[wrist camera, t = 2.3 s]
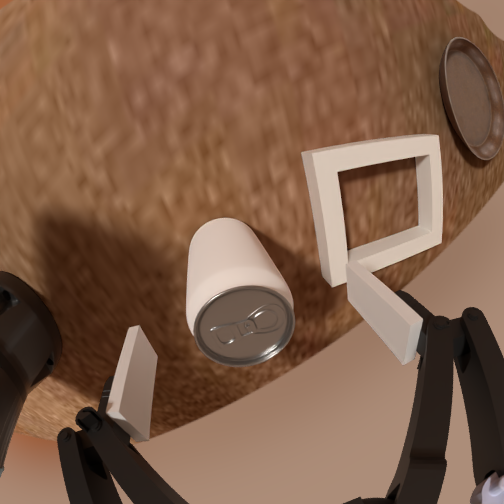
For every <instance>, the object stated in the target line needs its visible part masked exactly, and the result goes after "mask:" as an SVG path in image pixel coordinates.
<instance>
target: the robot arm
mask: <svg viewBox="0 0 504 504" xmlns="http://www.w3.org/2000/svg"><path fill="white" fill-rule="evenodd" d="M345 265H346V277H347V292H348V301H349V302H350V303H351V304H352V305H353V306H354V308H355V309H356V310H357V311H358V312H359V313H360V315H361V316H362V317H363V318H364V319H365V320H366V321H367V323H368V324H369V325H370V326H371V327H372V329H373V330H374V331H375V332H376V333H377V334H378V336H379V337H380V338H381V339H382V341H383V342H384V343H385V344H386V345H387V346H388V348H389V349H390V350H391V351H392V352H393V354H394V355H395V356H396V357H397V359H398V360H399V361H400V362H401V364H402V365H405V364H407V363H408V362H410V361H412V360H414V359H415V356H416V351H417V352H418V353H419V354H420V355H421V356H420V360H419V364H418V368H417V369H419V370H418V378H417V385H416V391H415V398H414V403H413V408H412V414H411V418H410V423H409V427H408V431H407V436H406V439H405V443H404V447H403V451H402V454H401V458H400V461H399V464H398V468H397V471H396V474H395V476H394V479H393V481H392V483H391V485H390V487H389V490H388V492H387V495H386V497H385V498H366V499H361V497H358V498H356V499H353V500H351V501H348V502H346V503H343V504H437V501H438V498H439V495H440V492H441V488H442V484H443V480H444V476H445V472H446V467H447V461H446V459H445V451H446V446H447V440H448V433H449V426H450V417H451V406H452V394H453V359H454V362H455V366H456V369H457V373H458V377H459V381H460V385H461V389H462V394H463V399H464V403H465V409H466V414H467V420H468V426H469V433H470V440H471V449H472V461H473V472H474V478H475V483H476V488H475V489H474V491H473V493H472V496H471V499H470V503H471V504H504V358H503V355H502V353H501V350H500V348H499V346H498V344H497V341H496V339H495V337H494V335H493V333H492V330H491V328H490V326H489V324H488V322H487V320H486V318H485V316H484V314H483V313H482V311H481V310H479V309H478V308H474V307H469V308H466V309H465V310H464V311H463V313H462V317H460V318H456V319H452V320H449V319H448V318H446V317H444V316H434V315H433V314H432V313H431V312H429V311H428V310H427V309H426V308H425V307H424V306H422V305H421V304H420V303H418V301H417V300H416V299H414V298H413V297H412V296H411V295H410V294H408V293H406V292H404V291H401V290H399V291H397V292H393V291H391V290H390V289H389V288H388V287H387V286H386V285H385V284H383V283H382V282H381V281H380V280H379V279H378V278H376V277H375V276H374V275H373V274H372V273H370V272H369V271H368V270H367V269H366V268H364V267H363V266H362V265H361V264H360V263H358V262H357V261H353V262H350V263H347V264H345ZM61 353H62V342H61V337H60V333H59V330H58V328H57V325H56V323H55V321H54V319H53V317H52V315H51V314H50V312H49V311H48V309H47V308H46V306H45V305H44V303H43V302H42V301H41V300H40V298H39V297H38V296H37V295H36V294H35V293H34V292H33V291H32V290H31V289H30V288H29V287H28V286H27V285H26V284H25V283H24V282H22V281H21V280H19V279H18V278H16V277H15V276H13V275H11V274H9V273H6V272H3V271H0V477H1V474H2V472H3V471H4V466H3V465H4V461H5V457H6V454H7V450H8V447H9V443H10V440H11V437H12V434H13V431H14V429H15V426H16V423H17V420H18V418H19V415H20V412H21V410H22V407H23V404H24V402H25V400H26V398H27V395H28V394H29V393H30V392H31V391H32V390H33V389H34V388H36V387H37V386H38V385H39V384H40V383H41V382H42V381H43V380H44V379H46V378H47V377H48V376H49V375H50V374H51V373H52V372H53V371H54V369H55V367H56V365H57V363H58V361H59V359H60V356H61ZM157 359H158V356H157V354H156V353H155V351H154V349H153V348H152V346H151V344H150V343H149V341H148V339H147V338H146V336H145V334H144V332H143V331H142V329H141V327H140V325H138V326H134V327H129V329H128V332H127V335H126V339H125V342H124V345H123V348H122V352H121V355H120V358H119V362H118V365H117V369H116V373H115V376H110V377H109V378H108V380H107V381H106V383H105V385H104V389H103V392H102V396H101V397H102V398H101V400H100V403H99V407H98V411H96V410H95V409H93V408H92V407H85V408H83V409H81V410H80V411H79V412H78V414H77V416H76V420H75V421H76V424H77V425H78V426H79V427H80V428H81V429H82V430H80V431H77V432H75V431H74V430H73V429H72V428H69V427H67V428H64V429H62V430H61V431H60V432H59V434H58V437H57V443H58V450H59V455H60V462H61V467H62V471H63V477H64V481H65V485H66V490H67V493H68V497H69V501H70V504H122V501H121V499H120V497H119V494H118V492H117V490H116V487H115V485H114V482H113V479H112V477H111V474H112V475H113V477H114V478H115V479H116V481H117V482H118V484H119V485H120V486H121V488H122V489H123V490H124V492H125V493H126V494H127V496H128V497H129V498H130V499H131V501H132V502H133V503H134V504H189V503H188V502H186V501H185V500H184V499H183V498H182V497H181V496H180V495H179V494H178V493H177V492H175V490H174V489H172V488H171V487H170V486H169V485H168V484H167V483H166V482H165V481H164V480H163V479H162V477H160V475H159V474H158V473H157V472H156V471H155V470H154V469H153V468H152V467H151V466H150V465H149V464H148V462H147V461H146V460H145V459H144V458H143V457H142V455H141V454H140V453H139V452H138V451H137V450H136V448H135V447H134V446H133V445H132V444H131V443H130V437H132V438H133V439H134V440H135V441H136V442H140V441H149V433H150V421H151V410H152V400H153V391H154V382H155V374H156V366H157ZM110 472H111V474H110Z"/></svg>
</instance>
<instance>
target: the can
mask: <svg viewBox="0 0 504 504" xmlns="http://www.w3.org/2000/svg"><path fill="white" fill-rule="evenodd" d="M186 316H187V322H188V326H189V329H190V331H191V333H192V334H193V336H194V339H195V342H196V344H197V346H198V348H199V349H200V351H201V352H202V353H203V354H204V355H205V356H206V357H208V358H209V359H211V360H212V361H214V362H216V363H219V364H222V365H225V366H231V367H246V366H252V365H256V364H259V363H262V362H265V361H267V360H269V359H271V358H272V357H274V356H275V355H277V354H278V353H279V352H280V351H281V350H282V349H283V348H284V347H285V346H286V345H287V344H288V342H289V341H290V339H291V337H292V335H293V332H294V328H295V314H294V311H293V298H292V294H291V292H290V289H289V287H288V285H287V284H286V282H285V280H284V278H283V277H282V275H281V274H280V272H279V270H278V269H277V267H276V266H275V264H274V262H273V261H272V259H271V258H270V256H269V255H268V253H267V252H266V250H265V248H264V247H263V245H262V244H261V242H260V241H259V239H258V238H257V236H256V235H255V233H254V232H253V231H252V229H251V228H250V227H249V226H247V225H246V224H245V223H243V222H241V221H239V220H236V219H232V218H219V219H215V220H212V221H210V222H208V223H206V224H204V225H203V226H202V227H201V228H199V229H198V231H197V232H196V233H195V235H194V236H193V238H192V241H191V244H190V248H189V258H188V273H187V294H186Z"/></svg>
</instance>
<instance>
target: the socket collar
mask: <svg viewBox="0 0 504 504" xmlns="http://www.w3.org/2000/svg"><path fill="white" fill-rule="evenodd" d="M301 154H302V159H303V164H304V169H305V174H306V179H307V184H308V189H309V195H310V200H311V206H312V212H313V218H314V224H315V230H316V236H317V243H318V250H319V257H320V264H321V271H322V277H323V278H324V279H325V280H326V281H327V282H328V283H329V284H330V286H331V287H335V286H337V285H340V284H343V283H345V282H347V277H346V265H345V264H347V263H350V262H353V261H357V262H358V263H360V264H361V265H362V266H363V267H364V268H366V269H367V270H368V271H369V272H370V273H371V272H374V271H377V270H379V269H382V268H384V267H386V266H389V265H391V264H394V263H396V262H399V261H401V260H403V259H406V258H408V257H410V256H413V255H415V254H417V253H420V252H422V251H424V250H427V249H429V248H431V247H433V246H436V245H438V244H440V243H441V242H442V221H443V188H442V167H441V154H440V144H439V136H438V135H430V134H418V135H407V136H398V137H390V138H382V139H374V140H367V141H361V142H354V143H348V144H342V145H336V146H331V147H325V148H320V149H315V150H310V151H305V152H301ZM411 157H415V161H416V172H417V186H418V211H419V226H416V227H413V228H410V229H408V230H405V231H402V232H399V233H396V234H394V235H391V236H388V237H385V238H382V239H380V240H377V241H374V242H371V243H368V244H365V245H362V246H359V247H357V248H354V249H351V250H348V251H347V243H346V234H345V225H344V216H343V208H342V201H341V194H340V187H339V181H338V174H337V172H339V171H343V170H348V169H353V168H358V167H362V166H367V165H372V164H378V163H383V162H388V161H394V160H399V159H405V158H411Z"/></svg>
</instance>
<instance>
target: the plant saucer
mask: <svg viewBox="0 0 504 504" xmlns="http://www.w3.org/2000/svg"><path fill="white" fill-rule="evenodd" d="M439 79H440V89H441V94H442V99H443V103H444V106H445V109H446V112H447V115H448V117H449V120H450V122H451V124H452V126H453V128H454V130H455V131H456V133H457V134H458V136H459V137H460V139H461V140H462V141H463V143H464V144H465V145H466V146H467V147H468V148H469V150H470V151H471V152H472V153H473V154H475V155H476V156H477V157H478V158H480V159H482V160H490V159H492V158H493V157H494V156H495V155H496V154H497V153H498V151H499V149H500V147H501V145H502V141H503V138H504V102H503V96H502V92H501V89H500V85H499V82H498V80H497V77H496V75H495V72H494V70H493V68H492V66H491V65H490V63H489V61H488V60H487V58H486V57H485V55H484V54H483V53H482V51H481V50H480V49H479V48H478V47H477V46H476V45H475V44H474V43H473V42H471V41H469V40H468V39H465V38H462V37H456V38H454V39H452V40H451V41H450V42H449V43H448V45H447V46H446V48H445V50H444V53H443V55H442V59H441V63H440V70H439Z"/></svg>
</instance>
